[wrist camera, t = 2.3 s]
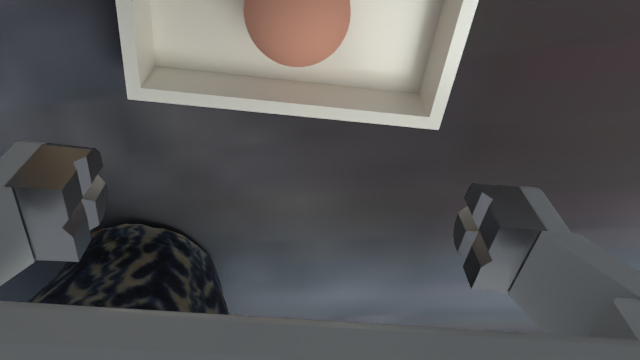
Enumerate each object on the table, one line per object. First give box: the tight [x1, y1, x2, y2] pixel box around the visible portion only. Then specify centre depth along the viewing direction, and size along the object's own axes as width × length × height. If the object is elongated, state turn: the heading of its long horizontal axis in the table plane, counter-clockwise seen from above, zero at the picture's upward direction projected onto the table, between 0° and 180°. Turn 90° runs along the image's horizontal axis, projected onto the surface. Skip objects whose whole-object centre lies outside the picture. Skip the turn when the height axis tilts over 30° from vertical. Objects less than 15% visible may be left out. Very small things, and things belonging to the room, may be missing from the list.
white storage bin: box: [115, 0, 479, 130], centre depth 23 cm, size 16×10×4 cm, turn 83°
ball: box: [244, 0, 351, 67], centre depth 22 cm, size 5×5×5 cm
